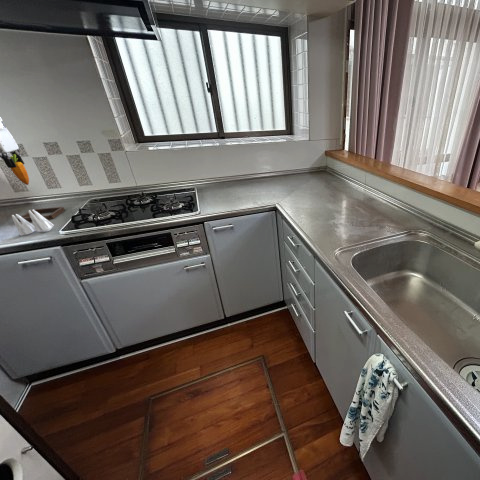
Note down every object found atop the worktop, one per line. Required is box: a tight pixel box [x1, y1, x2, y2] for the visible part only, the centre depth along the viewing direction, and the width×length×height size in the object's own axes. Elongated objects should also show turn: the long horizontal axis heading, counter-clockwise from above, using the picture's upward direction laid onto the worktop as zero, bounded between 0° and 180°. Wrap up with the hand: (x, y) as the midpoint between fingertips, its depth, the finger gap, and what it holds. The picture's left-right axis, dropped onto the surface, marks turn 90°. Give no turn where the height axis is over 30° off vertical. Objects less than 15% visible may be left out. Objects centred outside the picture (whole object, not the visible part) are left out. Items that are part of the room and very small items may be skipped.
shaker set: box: [11, 209, 55, 237], centre depth 122 cm, size 12×4×11 cm, turn 107°
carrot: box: [10, 154, 30, 186], centre depth 132 cm, size 5×5×15 cm
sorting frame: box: [16, 206, 66, 223], centre depth 139 cm, size 14×12×2 cm
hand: (16, 165), depth 131 cm, fingers closed on carrot, 5 cm apart
